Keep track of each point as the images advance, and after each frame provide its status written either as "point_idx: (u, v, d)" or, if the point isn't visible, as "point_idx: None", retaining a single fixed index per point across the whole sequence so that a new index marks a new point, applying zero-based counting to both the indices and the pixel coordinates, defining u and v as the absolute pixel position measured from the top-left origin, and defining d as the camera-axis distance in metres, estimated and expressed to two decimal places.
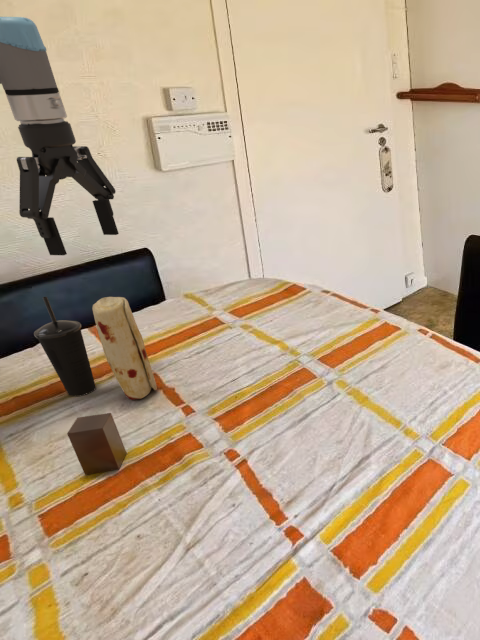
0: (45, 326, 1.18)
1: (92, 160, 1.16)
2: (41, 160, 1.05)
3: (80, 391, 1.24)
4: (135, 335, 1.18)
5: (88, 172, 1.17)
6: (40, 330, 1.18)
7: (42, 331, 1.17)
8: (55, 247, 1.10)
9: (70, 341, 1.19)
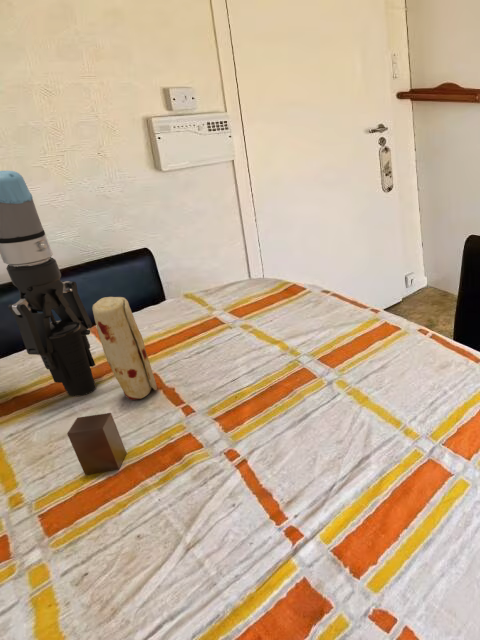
0: None
1: (76, 294, 1.22)
2: (29, 300, 1.13)
3: (80, 391, 1.24)
4: (135, 335, 1.18)
5: (70, 305, 1.23)
6: None
7: None
8: (59, 376, 1.20)
9: (69, 341, 1.19)
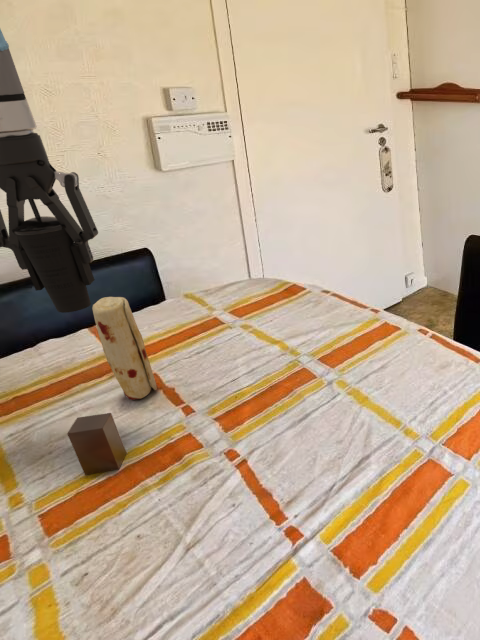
0: None
1: (72, 192, 0.95)
2: None
3: (56, 306, 1.01)
4: (135, 335, 1.18)
5: None
6: None
7: None
8: None
9: (29, 243, 0.95)
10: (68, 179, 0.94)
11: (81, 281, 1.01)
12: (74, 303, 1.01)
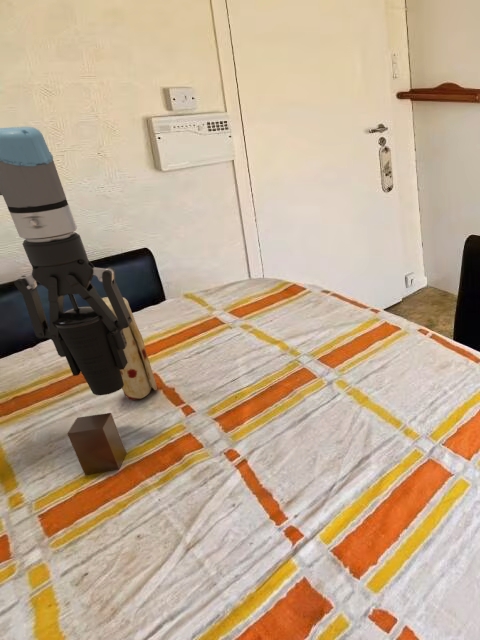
0: None
1: (109, 287, 1.00)
2: (34, 278, 0.97)
3: (91, 389, 1.07)
4: (135, 335, 1.18)
5: None
6: None
7: (61, 314, 1.02)
8: None
9: (68, 335, 1.00)
10: (106, 275, 0.99)
11: (115, 365, 1.07)
12: (109, 386, 1.07)
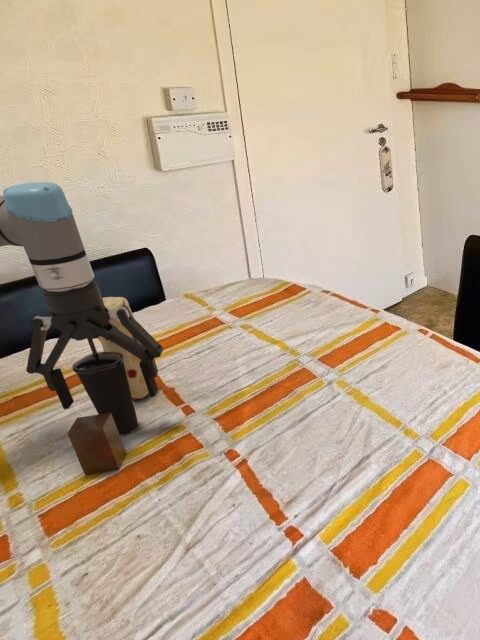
0: None
1: (128, 324, 1.04)
2: (51, 322, 1.01)
3: None
4: None
5: None
6: (84, 357, 1.07)
7: (81, 359, 1.06)
8: None
9: (87, 380, 1.04)
10: (120, 314, 1.03)
11: (131, 407, 1.11)
12: (124, 427, 1.10)
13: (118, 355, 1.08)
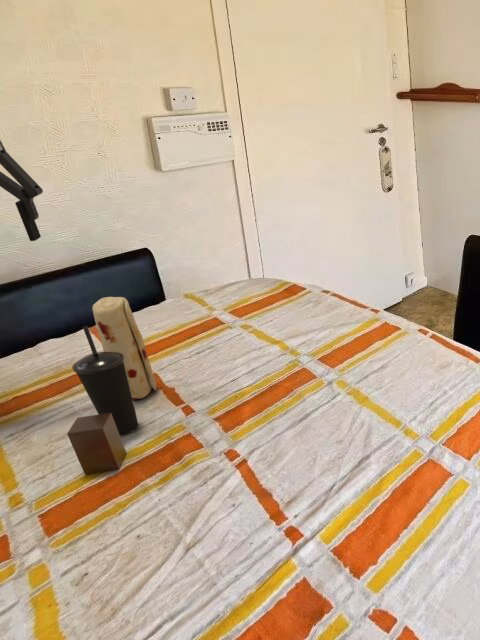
0: None
1: None
2: None
3: None
4: (135, 335, 1.18)
5: None
6: (84, 357, 1.07)
7: (81, 359, 1.06)
8: None
9: (87, 380, 1.04)
10: None
11: (131, 407, 1.11)
12: (124, 427, 1.10)
13: (118, 355, 1.08)
